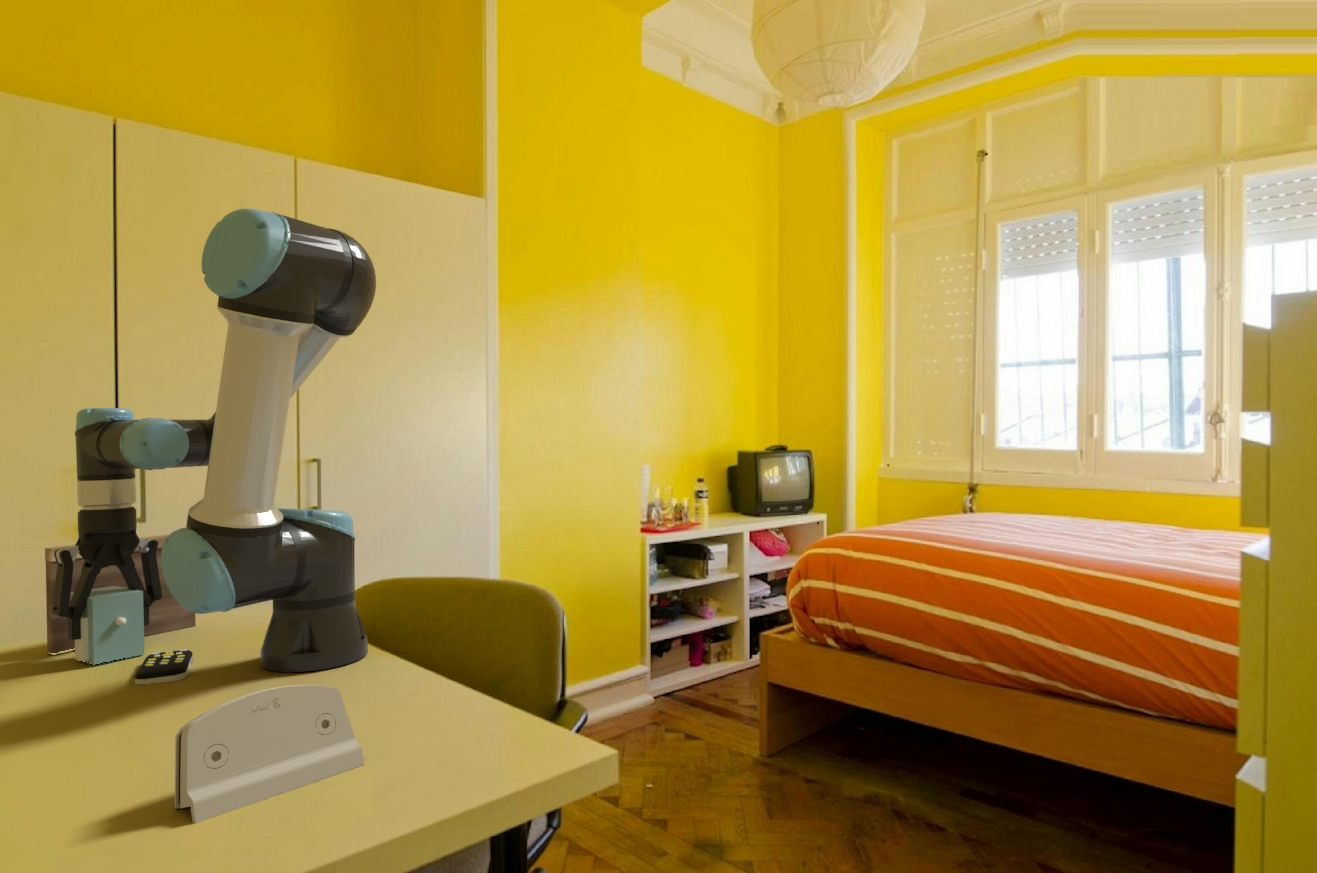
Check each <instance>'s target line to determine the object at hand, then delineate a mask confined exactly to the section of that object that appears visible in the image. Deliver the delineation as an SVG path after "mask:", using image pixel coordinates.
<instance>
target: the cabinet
mask: <svg viewBox="0 0 1317 873" xmlns="http://www.w3.org/2000/svg"><path fill="white" fill-rule="evenodd" d="M73 594H74V592H71V593H70V601H71V599H72V596H73ZM69 604H70V602H69ZM82 616H84V617H88V642H89V660H88V661H85V662H88V663H91V664H99V665H101V664H100V663H102V662H108V663H111V662H110V661H112V660H117V661H120V660H119V659H121V660H124V659H123V658H125V659H129V658H134V657H139V656H142V655H145V637H144V611H143V591H140V590H132V589H129V588H123V587H118V586H106V587H100V588H93V589H92V590H91V593H90V596H89V598H87V603H86V606H85V609H84V611H83V614H82ZM63 619H67V618H66V617H63ZM133 656H134V657H133ZM112 662H113V661H112Z"/></svg>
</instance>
